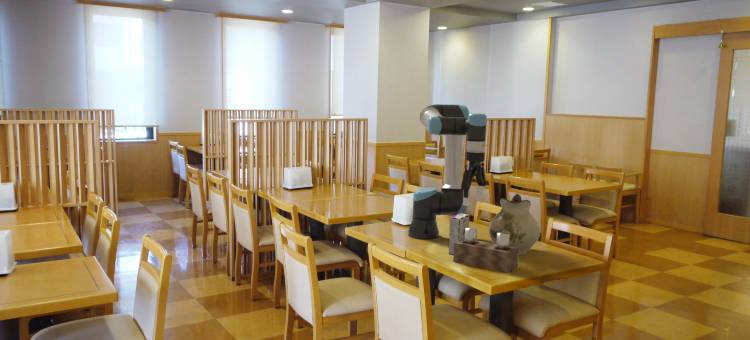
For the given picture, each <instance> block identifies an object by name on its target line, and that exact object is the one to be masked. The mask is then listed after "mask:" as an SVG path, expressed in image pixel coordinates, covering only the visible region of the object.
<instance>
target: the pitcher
mask: <svg viewBox="0 0 750 340" xmlns="http://www.w3.org/2000/svg"><path fill="white" fill-rule="evenodd" d="M499 205H501V209H500V211H499V212H497V214H496V215H495V216H494V217H493V218H492V219H491V220H490V223H489V225H488V234H489V237H490V239H491V240H492V243H494V244H496V241H497V233H498V232H506V233H509V234H510V237H509V246H511V247H517V248H519V253H518V256H520V255H526V254H527V253H528V251H529V250H530V249H531V248H532V247H533V246H534V245H535V244H536V243H537V242H538V240H539V238H540V235H541V227H540V225H539V222H538V221H537V220H536V218H535V217H534V216H533V215H532V213H531V211H530V208H531V205H532V202H531V201H530V200H529V199H523V200H522V196H521V195H520V194H518V193H516V194H515V195H513V197H511V200H509V199H507V198H504V197H502V198H500V200H499Z"/></svg>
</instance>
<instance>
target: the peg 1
mask: <svg viewBox="0 0 750 340" xmlns="http://www.w3.org/2000/svg"><path fill="white" fill-rule="evenodd" d="M477 241H478V228H477V227H473V226H469V227H466V228H465V240H464V243H466V244H471V245H475V244H477Z"/></svg>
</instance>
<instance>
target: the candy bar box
mask: <svg viewBox="0 0 750 340" xmlns="http://www.w3.org/2000/svg"><path fill="white" fill-rule="evenodd" d="M466 227H470V214H469V213H467V214H466V213H464V214H458V215H452V216H451V217H449V234H448V235H449V239H448V254H449V255H452V256H454V243H455V242H457V241H460V240H462V239H464V238H465V228H466Z"/></svg>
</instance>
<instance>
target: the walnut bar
mask: <svg viewBox="0 0 750 340" xmlns="http://www.w3.org/2000/svg"><path fill="white" fill-rule="evenodd" d="M464 240H465V238H464V239H462V240H460V241H457V242H455V243H454V255H453V259H452V260H453V261H452V262H454V263H458V264H463V265H469V266H474V267H479V268H484V269H488V270H494V271H498V272H504V273H511V272H512V271H513V270H516V269H517V268H518V266H519V255H518V253H519V248H517V247H511V246H509V250H507V251H505V250H499V249H496V244H495V243H494V242H488V241H482V240H477V244H475V245H471V244H466V243H464Z"/></svg>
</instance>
